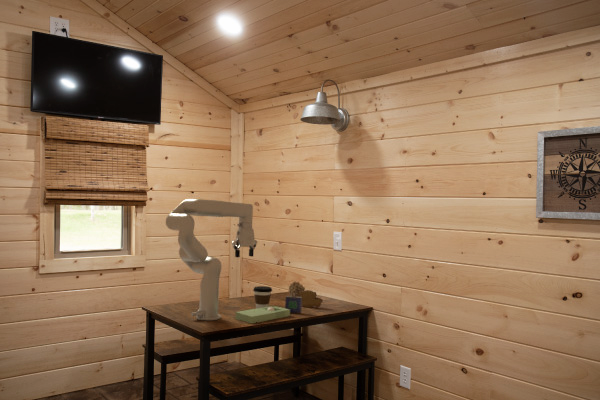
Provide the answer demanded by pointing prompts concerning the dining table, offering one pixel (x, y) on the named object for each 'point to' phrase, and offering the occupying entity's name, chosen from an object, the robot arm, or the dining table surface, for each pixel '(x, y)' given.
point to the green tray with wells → (261, 314)
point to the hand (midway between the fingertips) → (244, 256)
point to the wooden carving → (310, 299)
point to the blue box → (293, 304)
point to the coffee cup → (262, 296)
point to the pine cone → (296, 288)
